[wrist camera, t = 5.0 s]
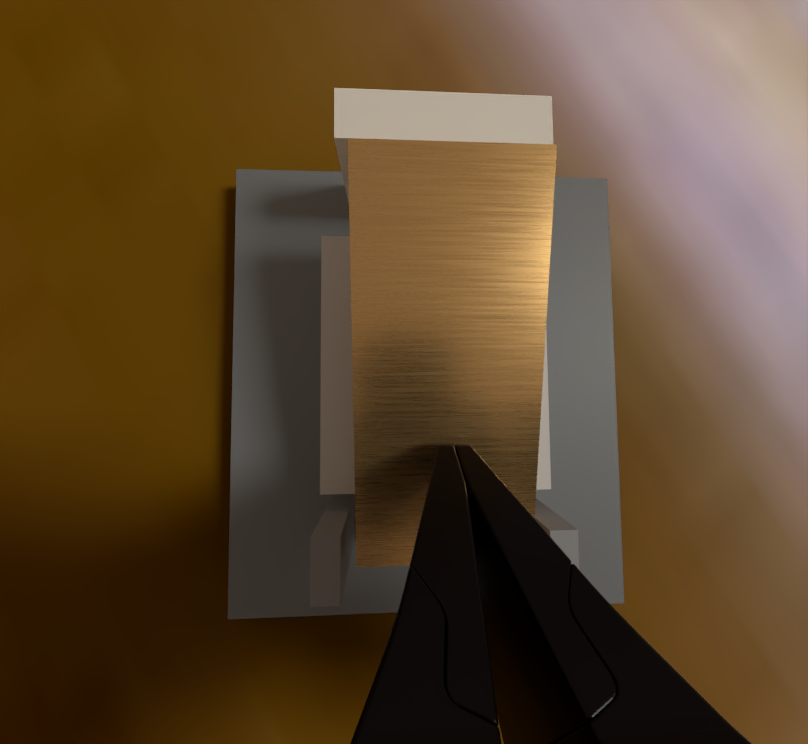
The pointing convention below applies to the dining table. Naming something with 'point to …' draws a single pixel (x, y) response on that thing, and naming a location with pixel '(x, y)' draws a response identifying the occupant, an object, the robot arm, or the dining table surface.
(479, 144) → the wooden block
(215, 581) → the dining table surface
